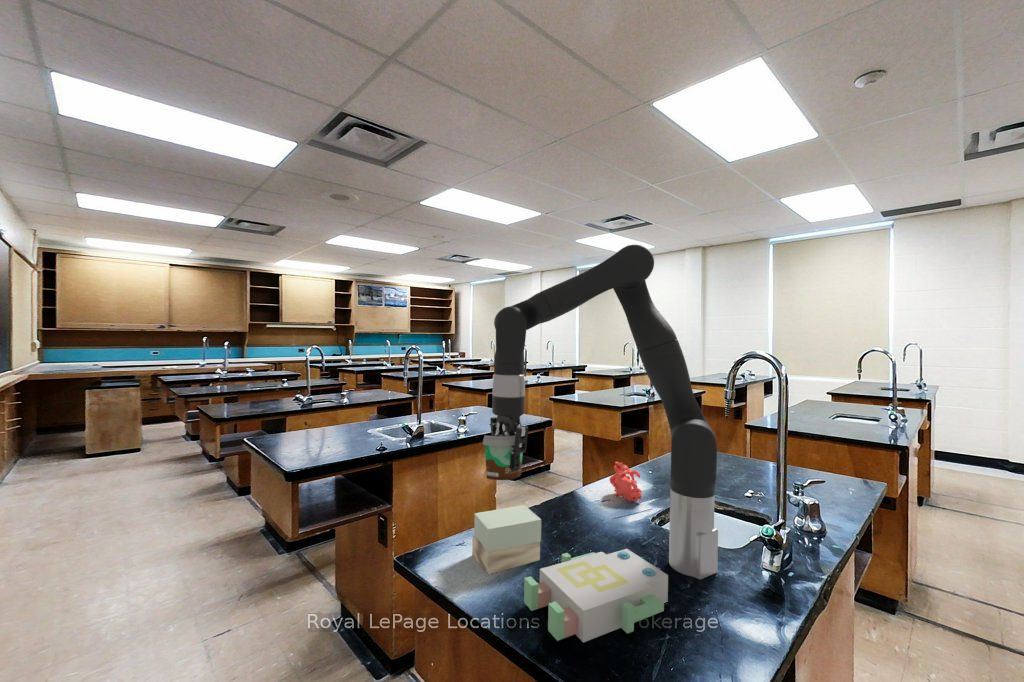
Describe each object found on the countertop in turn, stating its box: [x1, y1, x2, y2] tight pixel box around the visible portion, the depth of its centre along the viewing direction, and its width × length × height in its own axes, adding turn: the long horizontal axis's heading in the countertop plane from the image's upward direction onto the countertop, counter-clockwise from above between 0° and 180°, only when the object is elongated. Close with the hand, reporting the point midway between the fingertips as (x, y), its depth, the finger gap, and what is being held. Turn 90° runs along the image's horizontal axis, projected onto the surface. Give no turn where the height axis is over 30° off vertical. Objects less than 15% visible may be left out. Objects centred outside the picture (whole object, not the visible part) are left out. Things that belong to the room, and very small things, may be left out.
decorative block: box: [523, 548, 669, 643], centre depth 82 cm, size 26×6×20 cm
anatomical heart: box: [609, 461, 643, 503], centre depth 136 cm, size 9×12×12 cm
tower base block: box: [471, 534, 541, 575], centre depth 98 cm, size 9×13×5 cm
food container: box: [482, 434, 524, 481], centre depth 97 cm, size 12×6×10 cm, turn 141°
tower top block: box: [473, 504, 542, 552], centre depth 98 cm, size 9×13×5 cm
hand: (507, 466), depth 98 cm, fingers closed on food container, 5 cm apart
